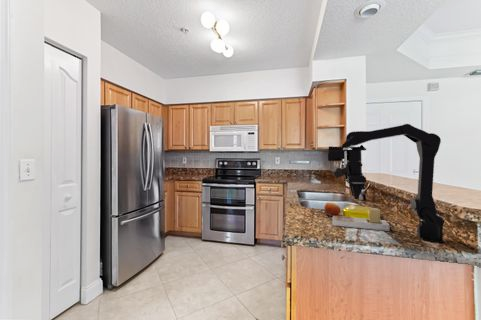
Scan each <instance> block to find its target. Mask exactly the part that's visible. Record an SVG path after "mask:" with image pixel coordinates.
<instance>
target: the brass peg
mask: <svg viewBox="0 0 481 320" xmlns="http://www.w3.org/2000/svg"><path fill="white" fill-rule="evenodd" d="M380 220H381V209H379V208H377V209H376V207H371V208H368V223H379V224H380Z"/></svg>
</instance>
